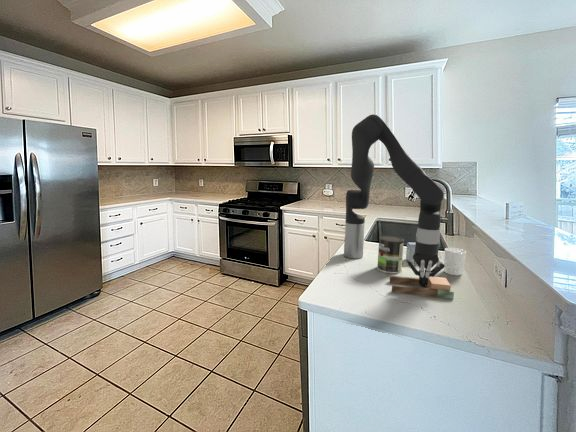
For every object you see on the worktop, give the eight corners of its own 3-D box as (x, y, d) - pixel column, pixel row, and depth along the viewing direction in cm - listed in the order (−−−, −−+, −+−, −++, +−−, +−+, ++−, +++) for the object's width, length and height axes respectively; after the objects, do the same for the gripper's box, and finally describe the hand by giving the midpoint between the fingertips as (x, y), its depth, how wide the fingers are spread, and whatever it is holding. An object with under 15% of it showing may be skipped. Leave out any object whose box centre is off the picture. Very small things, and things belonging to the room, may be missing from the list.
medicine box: (422, 259, 139) (423, 242, 138) (425, 262, 135) (427, 245, 133) (405, 259, 140) (406, 242, 138) (408, 262, 135) (409, 244, 134)
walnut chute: (391, 292, 104) (392, 285, 103) (389, 281, 113) (389, 275, 113) (453, 299, 99) (454, 292, 98) (445, 286, 108) (446, 280, 108)
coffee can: (388, 275, 120) (390, 242, 117) (372, 267, 129) (373, 236, 126) (407, 271, 124) (409, 240, 121) (390, 264, 133) (392, 234, 130)
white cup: (438, 269, 126) (440, 247, 124) (455, 269, 127) (458, 247, 125) (450, 276, 118) (452, 253, 117) (468, 275, 119) (470, 252, 117)
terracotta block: (430, 294, 102) (431, 283, 101) (426, 286, 108) (427, 276, 108) (449, 296, 100) (450, 285, 100) (444, 287, 107) (445, 277, 106)
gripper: (408, 241, 100) (404, 288, 103) (450, 244, 97) (445, 292, 100) (406, 236, 107) (402, 280, 110) (445, 239, 104) (440, 284, 107)
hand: (422, 286), depth 105 cm, fingers closed
